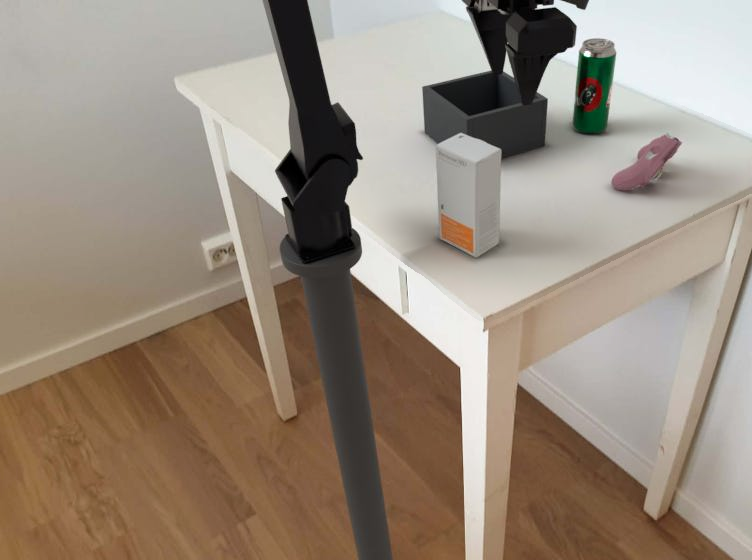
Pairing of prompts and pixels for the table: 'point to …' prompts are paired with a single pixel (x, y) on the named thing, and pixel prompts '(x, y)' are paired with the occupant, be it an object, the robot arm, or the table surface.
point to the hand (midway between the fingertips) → (511, 89)
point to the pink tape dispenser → (647, 163)
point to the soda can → (594, 85)
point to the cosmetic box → (468, 193)
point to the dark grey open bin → (485, 112)
